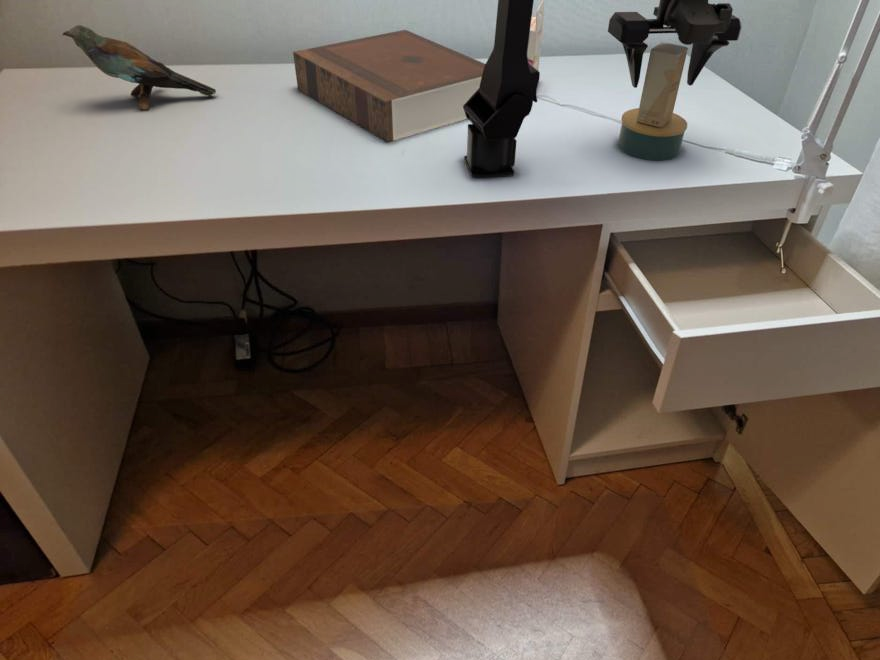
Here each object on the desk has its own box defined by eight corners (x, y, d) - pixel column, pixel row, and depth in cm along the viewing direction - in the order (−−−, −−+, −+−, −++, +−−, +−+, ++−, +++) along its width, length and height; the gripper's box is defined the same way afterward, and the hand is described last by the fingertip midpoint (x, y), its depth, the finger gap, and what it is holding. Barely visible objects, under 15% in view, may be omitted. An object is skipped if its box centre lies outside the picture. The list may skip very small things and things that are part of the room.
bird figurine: (216, 80, 124) (126, -23, 110) (218, 101, 117) (123, -6, 103) (159, 123, 126) (62, 26, 112) (158, 146, 119) (55, 47, 105)
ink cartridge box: (512, 79, 134) (518, -4, 124) (537, 82, 133) (546, -1, 124) (505, 94, 128) (510, 8, 118) (531, 98, 127) (539, 11, 117)
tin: (631, 162, 108) (636, 135, 105) (607, 135, 116) (612, 109, 113) (691, 159, 110) (698, 131, 107) (664, 132, 118) (670, 106, 115)
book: (387, 142, 110) (385, 101, 105) (297, 89, 125) (293, 51, 121) (500, 109, 122) (502, 71, 118) (406, 64, 138) (405, 29, 133)
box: (660, 129, 107) (677, 55, 100) (635, 122, 109) (649, 48, 102) (672, 118, 111) (689, 46, 103) (647, 112, 112) (662, 40, 105)
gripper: (647, -13, 88) (625, 108, 99) (776, -14, 92) (742, 103, 102) (615, -33, 96) (598, 80, 107) (735, -33, 100) (707, 76, 110)
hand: (662, 85), depth 106 cm, fingers open, 9 cm apart
